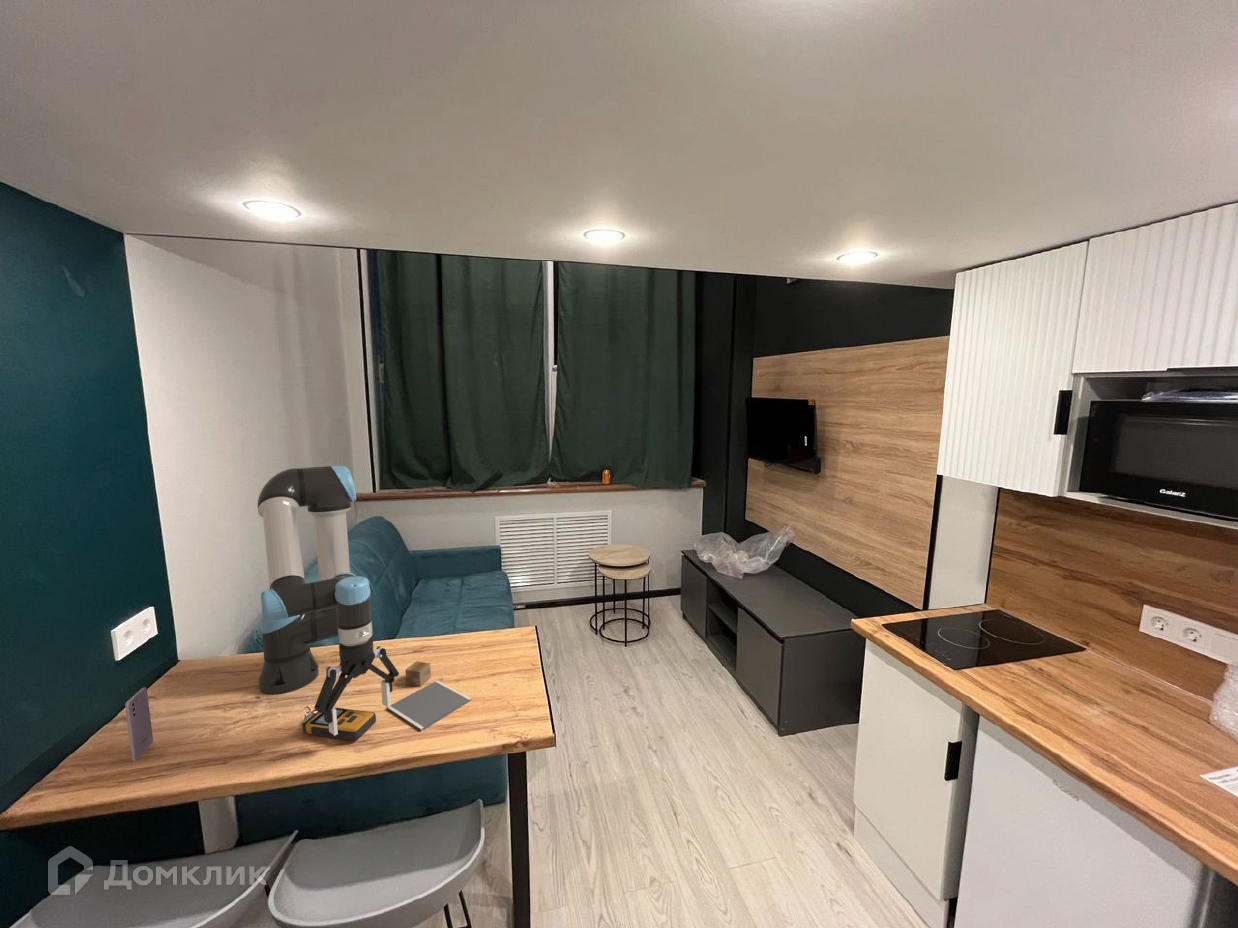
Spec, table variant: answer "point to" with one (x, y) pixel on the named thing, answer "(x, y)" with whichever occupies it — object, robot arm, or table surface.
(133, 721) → the smartphone
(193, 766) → the table surface
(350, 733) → the electronic device
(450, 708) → the mat
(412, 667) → the walnut block
